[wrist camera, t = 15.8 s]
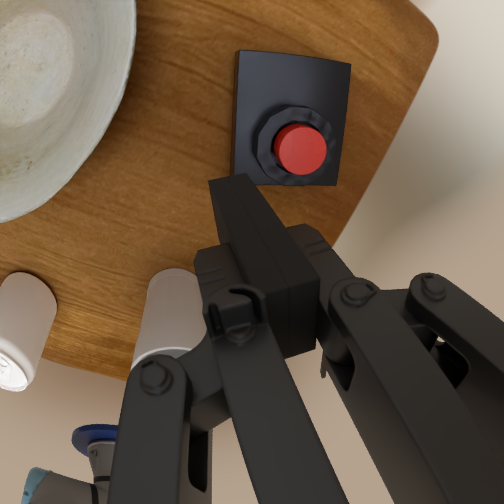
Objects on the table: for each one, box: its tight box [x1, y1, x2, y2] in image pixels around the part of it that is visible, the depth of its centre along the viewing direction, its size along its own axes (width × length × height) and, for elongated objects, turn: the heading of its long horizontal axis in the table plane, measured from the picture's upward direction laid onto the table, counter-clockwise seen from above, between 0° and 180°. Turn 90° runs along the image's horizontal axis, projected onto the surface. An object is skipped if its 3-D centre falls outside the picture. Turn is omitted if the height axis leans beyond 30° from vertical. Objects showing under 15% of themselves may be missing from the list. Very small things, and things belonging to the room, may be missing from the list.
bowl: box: [0, 0, 137, 223], centre depth 15 cm, size 24×24×10 cm
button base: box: [230, 50, 351, 186], centre depth 26 cm, size 12×10×4 cm
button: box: [274, 124, 326, 175], centre depth 25 cm, size 4×4×2 cm
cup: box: [131, 268, 207, 370], centre depth 30 cm, size 8×8×12 cm
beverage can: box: [0, 272, 57, 392], centre depth 27 cm, size 8×8×12 cm
